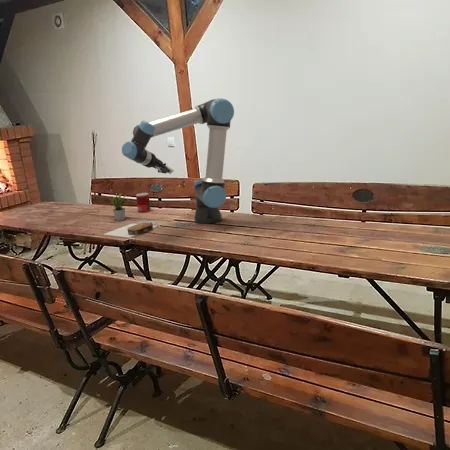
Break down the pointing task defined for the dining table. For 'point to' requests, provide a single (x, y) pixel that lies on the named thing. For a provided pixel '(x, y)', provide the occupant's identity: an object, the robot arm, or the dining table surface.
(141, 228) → the tin
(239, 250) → the dining table surface
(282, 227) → the dining table surface
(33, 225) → the dining table surface
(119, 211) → the house plant
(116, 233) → the mat
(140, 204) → the canned food
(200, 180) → the robot arm
